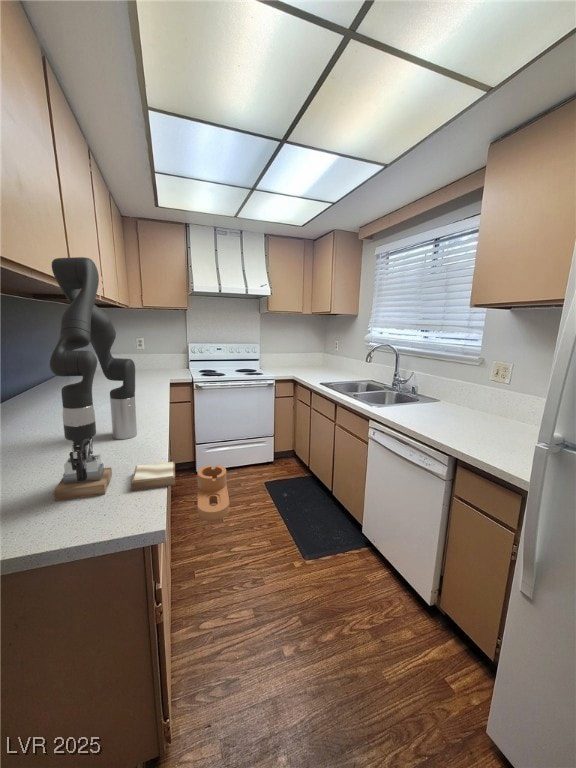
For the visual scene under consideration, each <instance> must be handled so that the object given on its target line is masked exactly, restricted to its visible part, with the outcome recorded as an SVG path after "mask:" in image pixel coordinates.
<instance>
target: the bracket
mask: <svg viewBox="0 0 576 768" xmlns="http://www.w3.org/2000/svg"><path fill="white" fill-rule="evenodd" d="M227 485H228V484H227V469H226V467H224V466H223V465H220V464H219V465H218V464H215V467H212V465H211V464H208V465H205V466H202V467H201V468H199V469H198V470H197V516H198V518H200V519H201V520H203V521H207V522H215V521H216V522H217V521H219V520H222V519H224V518H225V517H227V516H228V514H230V498H229V493H228V486H227ZM211 504H216V505H211Z"/></svg>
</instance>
